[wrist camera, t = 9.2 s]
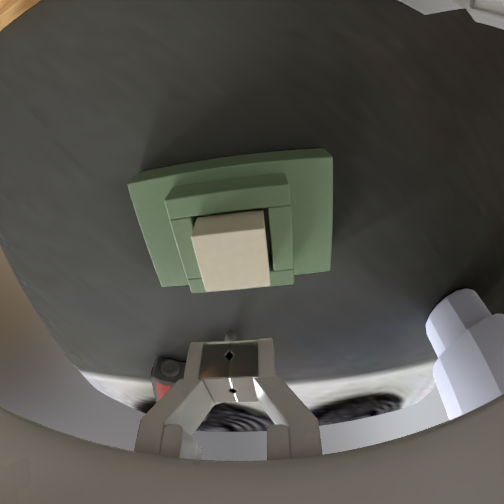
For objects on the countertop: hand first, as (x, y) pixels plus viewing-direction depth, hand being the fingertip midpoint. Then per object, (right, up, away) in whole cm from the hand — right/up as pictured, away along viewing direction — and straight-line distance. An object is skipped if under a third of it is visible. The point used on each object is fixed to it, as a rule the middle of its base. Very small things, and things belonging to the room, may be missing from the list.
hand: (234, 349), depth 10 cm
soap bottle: (+23, -3, +16) cm, 28 cm away
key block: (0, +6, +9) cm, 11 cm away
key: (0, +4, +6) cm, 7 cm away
